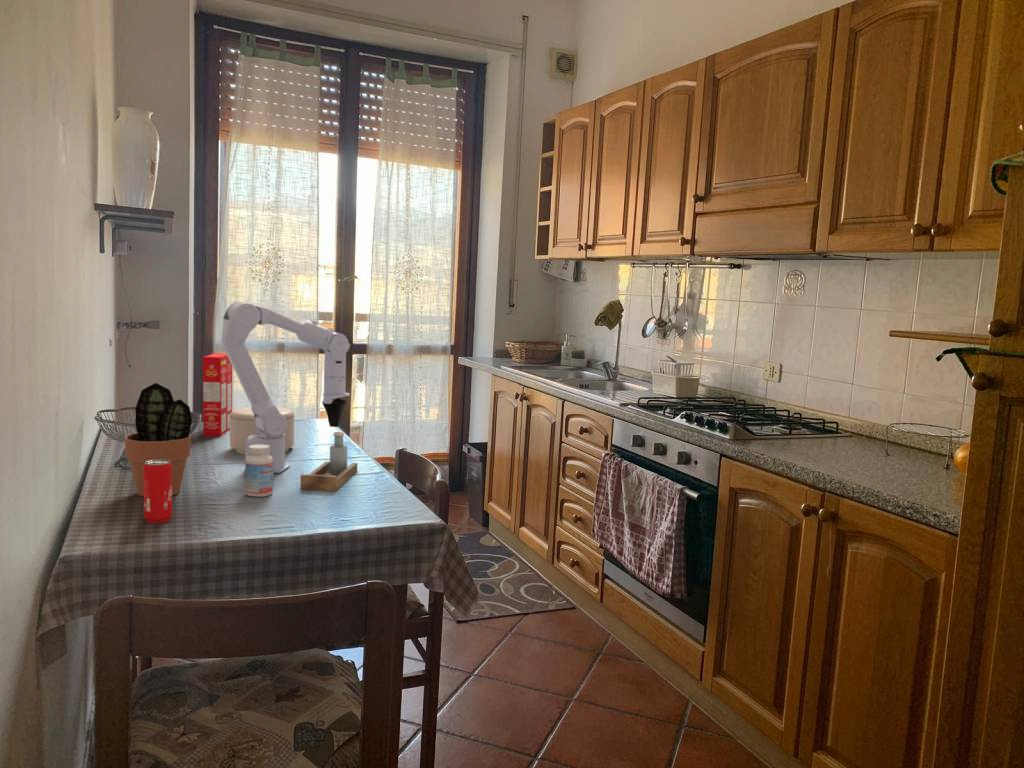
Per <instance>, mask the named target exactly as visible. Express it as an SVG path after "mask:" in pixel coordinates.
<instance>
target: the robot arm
mask: <svg viewBox="0 0 1024 768" xmlns="http://www.w3.org/2000/svg"><path fill="white" fill-rule="evenodd" d="M222 321H223V323H222V329H221V330H222V331H221V332H222V333H221V339H220V342H221V345H222V348H223V350H224V353H225V354H227V356H228V358H229V360H230V362H231V364H232V369H233V370H234V372H235V374H236V376H237V378H238V380H239V382H240V384H241V387H242V389H243V390H244V392H245V395H246V397H247V399H248V401H249V403H250V405H251V406H250V407H252V412H253V414H254V424H255V426H256V428H257V429H258V431H257V433H256V435H251V436H249V437H248V438H247V441H246V447H245V454H244V455H245V456H244V457H245V458H244V459H245V460H246V458H247V457H248V456H249V455H250V453H249V446H251V445H269V446H270V451H269V455H270V456H271V457H272V458H273V474H280V473H282V472H284V471H286V469H288V468H290V467H291V465H290V464H285V462H286V461H285V460H286V459H285V458H286V452H285V431H286V429H287V426H288V423H287V419H286V418H285V416H283V415H282V414H281V413H280V412H279V411H278V409H277V407H278V406H276V405H275V403H274V401H272V399H271V397H270V395H269V393H268V391H267V389H266V387H265V385H264V383H263V380H262V378H261V376H260V374H259V372H258V369H257V368H256V366H255V364H254V361H253V359H252V357H251V355H250V354H249V352H248V349H247V347H246V345H245V343H246V341H247V339H248V337H249V335H250V333H251V332H252V331H253V330H254V329H255V328H256V327H257V325H260V326H263V325H268V324H269V325H272V326H274V327H277V328H280V329H283V330H285V331H288V332H290V333H293V334H296V337H297V339H298V341H300V342H303V343H305V344H307V345H310V346H312V347H315V348H316V349H320V350H322V351H324V361H323V362H324V363H323V364H324V365H323V370H324V371H323V393H322V396H323V399H322V406H323V407H324V409H325V412H326V415H327V420H328V425H329V427H330V428H338V427H339V426H340V422H341V418H342V413H343V410H344V408H345V406H346V403H347V399H342V398H346V397H350V396H351V395H350V392H347V391H346V381H347V380H346V377H347V373H346V371H347V358H346V357H347V352H348V351H349V350H350V347H351V343H349V339H348V338H347V336H346V335H345V334H344V333H340V332H335V331H334V328H332V327H328V328H327V327H325V326H322V325H320V324H318V321H316V320H314V319H313V320H312V319H311V320H305V321H303V322H300V321H298V320H295V319H294V318H291V317H288V316H286V315H284V314H283V313H280V312H277V311H275V310H273V309H271V308H268V307H263V306H261V305H260V306H259V305H255V304H253V303H249V302H247V303H244V302H242V301H241V302H239V301H237V302H233V303H231V304H230V305H229V306H228V307H227V309H226V311H225V313H224V314H223V316H222ZM245 460H244V461H245ZM244 472H245V469H244Z"/></svg>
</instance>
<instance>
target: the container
mask: <svg viewBox="0 0 1024 768" xmlns="http://www.w3.org/2000/svg"><path fill="white" fill-rule="evenodd" d="M276 407H277V409H278V411H279V412H280V413H281V414H282V415H283V416H285V418H286V419H287V423H288V426H287V429H286V431H285V453H286V452H288V451H289V449H290V448H291V447H294V445H295V412H294V411H293V410H292V409H290V408H287V407H281V406H276ZM257 431H258V429H257V428H256V426H255V424H254V414H253V412H252V407H251V406H246V407H239V408H236V409H235V408H234V409H232V412H231V413H230V430H229V446H230V448H232V449H235V452H236V453H238V454H242V455H245V447H246V441H247V438H248V437H249V436H251V435H256V433H257Z"/></svg>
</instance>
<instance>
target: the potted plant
mask: <svg viewBox="0 0 1024 768" xmlns="http://www.w3.org/2000/svg"><path fill="white" fill-rule="evenodd" d="M140 391H141V392H140V394H139V398H138V400H137V402H136V405H135V431H136V432H134V433H129V434H127V435H125V436H124V449H125V459H126V460H128V461H129V464H130V469H131V472H132V477H133V480H134V486H135V489H136V492H137V495H138V496H140V497H142V496H143V498H144V480H143V466H144V465H145V462H146V461H149V460H156V459H165V460H170V463H171V465H172V496H175V495H177V494H179V493H180V492H181V488H182V485H183V484H182V483H183V479H184V473H185V468H186V463H187V459H188V458H190V457H191V456H190V455H191V442H192V434H190V433H191V427H192V422H193V419H192V414H191V413H192V412H191V407H190V406H189V405H188V404H186V402H184V401H183V400H182V399H180V398H179V399H177V400H174V398H173V395H172V392H171V390H170V389H169V388H167V387H165V386H163V385H161V384H159V383H156V382H155V383H152V384H150V385H149V386H147V387H145V388H143V389H142V390H140Z"/></svg>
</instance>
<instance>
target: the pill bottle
mask: <svg viewBox="0 0 1024 768" xmlns="http://www.w3.org/2000/svg"><path fill="white" fill-rule="evenodd" d="M269 451H270V446H269V445H251V446H249V453H250V455H249V456H248V457H247V458H246V460H244V468H245V471H244V486H245V487H244V492H245V493H244V494H245V495H246V496H249V497H252V498H253V497H254V498H256V497H257V498H262V497H268V496H271V495H272V494H273V491H274V490H273V489H274V481H273V480H274V473H273V458H272V457H271V456H270V455H269Z"/></svg>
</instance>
